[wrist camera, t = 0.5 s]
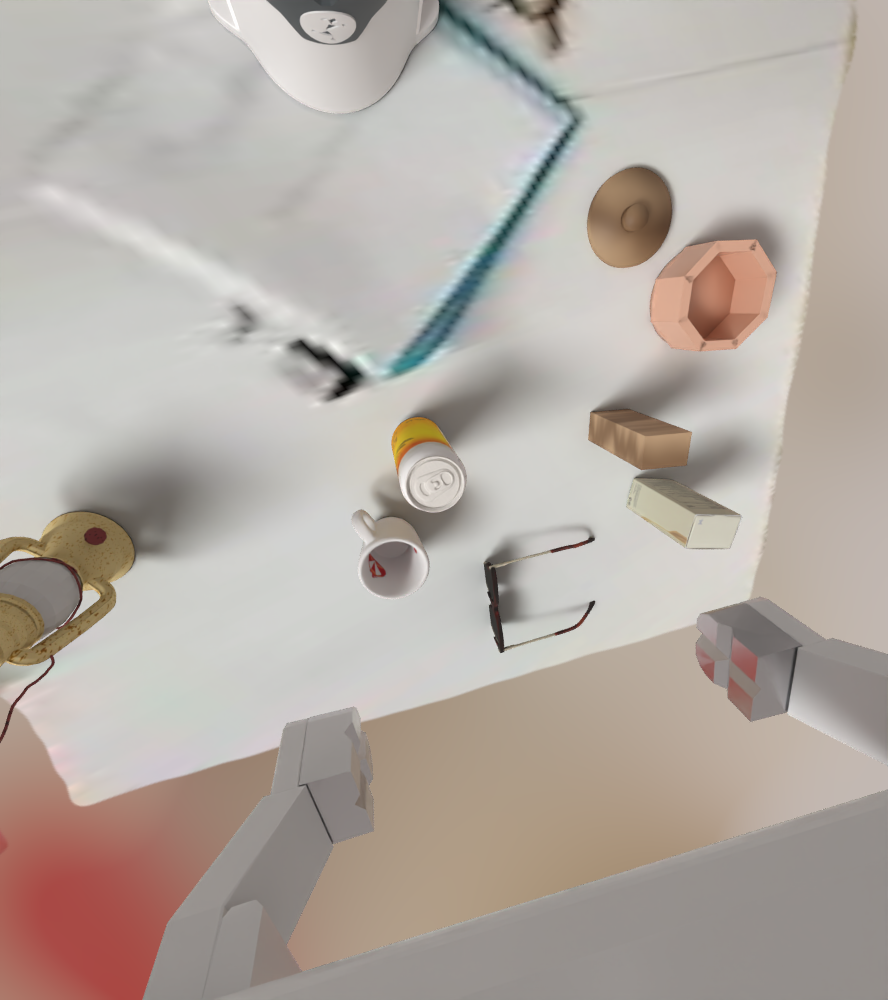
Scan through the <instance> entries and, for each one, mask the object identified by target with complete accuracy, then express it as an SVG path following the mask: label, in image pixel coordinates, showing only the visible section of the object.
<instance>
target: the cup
mask: <svg viewBox="0 0 888 1000" xmlns="http://www.w3.org/2000/svg"><path fill="white" fill-rule="evenodd" d="M351 521H352V525H353V527H354V529H355V531H356V532H357V534H358V535H359V536H360V537H361V538H362V540H363V544H362V549H361V553H360V558H359V562H358V575H359V578H360V581H361V583H362V584H363V586H364V587H365V588H366V589H367V590H368V591H369V592H370V593H372V594H374V595H376V596H378V597H381V598H385V599H399V598H403V597H406V596H409V595H411V594H413V593H414V592H416V591H417V590H418V589H419V588H420V587H421V586H422V585H423V584H424V582H425V581H426V579H427V576H428V574H429V558H428V555H427V553H426V551H425V549H424V547H423V545H422V543H421V541H420V539H419V537H418V535H417V533H416V531H415V529H414V528H413V527H412V526H411V525H410V524H409V523H408V522H407V521H405V520H403V519H400V518H397V517H387V518H383V519H380V520H378V521H376V522H375V521H374V520H373V518H372V517H371V516H370V515H369V514H368V513H367V512H366V511H364V510H362V509H361V510H358V511H356V512H355V513H354V514H353V515H352V518H351Z"/></svg>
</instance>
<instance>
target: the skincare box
mask: <svg viewBox="0 0 888 1000" xmlns="http://www.w3.org/2000/svg"><path fill="white" fill-rule="evenodd" d="M626 507H627V508H628V509H630V510H631V511H633V512H634V513H636V514H637V515H639V516H640V517H642V518H643V519H644V520H646V521H647V522H649V523H650V524H652V525H653V526H654V527H656V528H657V529H659V530H660V531H662V532H663V533H664V534H666V535H667V536H669V537H670V538H672V539H673V540H674V541H676V542H677V543H679V544H680V545H682V546H683V547H684V548H686V549H730V548H731V545H732V542H733V540H734V537H735V535H736V532H737V530H738V527H739V525H740V522H741V520H742V515H740V514H738V513H736V512H734V511H732V510H730V509H728V508H726V507H724V506H722V505H720V504H718V503H717V502H715V501H713V500H711V499H709V498H707V497H705V496H703V495H701V494H699V493H697V492H695V491H693V490H691V489H689V488H687V487H685V486H683V485H682V484H680V483H678V482H676V481H674V480H668V479H648V478H634V480H633V483H632V487H631V490H630V494H629V497H628V501H627V506H626Z"/></svg>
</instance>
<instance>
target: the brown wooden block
mask: <svg viewBox="0 0 888 1000" xmlns="http://www.w3.org/2000/svg"><path fill="white" fill-rule="evenodd" d="M691 435H692V432H690V431H688V430H685V429H682V428H679V427H677V426H674V425H671V424H668V423H666V422H663V421H660V420H657V419H655V418H652V417H649V416H646V415H644V414H641V413H638V412H635V411H633V410H630V409H623V410H611V411H599V412H590V425H589V438H588V440H589V441H591V442H593V443H595V444H596V445H598V446H600V447H602V448H603V449H605V450H607V451H609V452H610V453H612V454H614V455H616V456H618V457H619V458H621V459H623V460H625V461H626V462H628V463H630V464H632V465H633V466H635V467H637V468H639V469H641V470H646V469H656V468H666V467H675V466H685V465H687V459H688V453H689V447H690V441H691Z"/></svg>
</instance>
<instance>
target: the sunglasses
mask: <svg viewBox="0 0 888 1000" xmlns="http://www.w3.org/2000/svg"><path fill="white" fill-rule="evenodd" d="M594 540H595V538H589V539H588V540H586V541H583V542H580V543H578V544H574V545H568V546H564V547H560V548H556V549H552V550H549V551H546V552H542V553H538V554H534V555H530V556H527V557H523V558H519V559H515V560H512V561H508V562H503V563H499V564H495V565H491V564H490V562H488V563H486V562H484V569H485V577H486V585H487V588H488V592H487V593H488V596H489V598H490V601H491V603H492V605H489V611H490V619H491V626H492V629H493V632H494V634H495V637H494V639H495V641H496V644H497V646H498V649H499V652H500V653H503V652H504V651H506V650H509V649H512V648H515V647H518V646H521V645H524V644H528V643H531V642H534V641H538V640H541V639H545V638H548V637H552V636H556V635H559V634H563V633H566V632H569V631H571V630H574V629H576V628H577V627H579V626H580V625H581V624H582V623H583V621H584V620H585V619H586V617H587V616H588V614H589V612H590V611H591V609H592V608H593V606H594V604H595V601H592V602H590V604H589V608H588V610H587V612H586V613H585V615H584V616H583V618H582V619H581V620H580V621H579V623H577V624H576V625H574V626H573V627H570V628H568V629H565V630H561V631H558V632H555V633H553V634H550V635H547V636H543V637H540V638H537V639H533V640H530V641H527V642H523V643H520V644H517V645H511V646H508V647H504V639H503V631H502V625H501V620H500V616H499V612H498V602H499V595H498V584H497V577H496V571H495V568H497V567H501V566H504V565H507V564H509V563H513V562H516V561H520V560H524V559H527V558H531V557H535V556H539V555H543V554H547V553H554V552H558V551H562V550H566V549H570V548H576V547H579V546H582V545H585V544H587V543H590V542H593V541H594Z"/></svg>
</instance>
